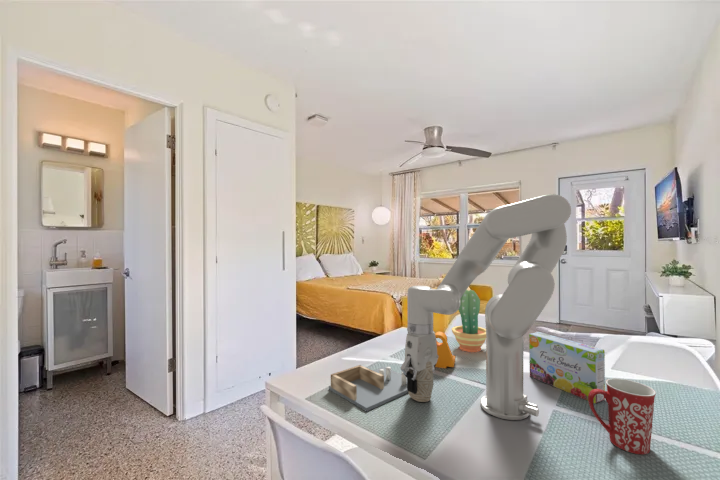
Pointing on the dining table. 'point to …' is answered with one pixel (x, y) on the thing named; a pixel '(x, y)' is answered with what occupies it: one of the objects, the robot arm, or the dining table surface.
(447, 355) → the bracket
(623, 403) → the mug
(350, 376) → the end holder
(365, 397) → the board
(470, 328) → the potted cactus
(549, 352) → the snack box
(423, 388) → the carving
